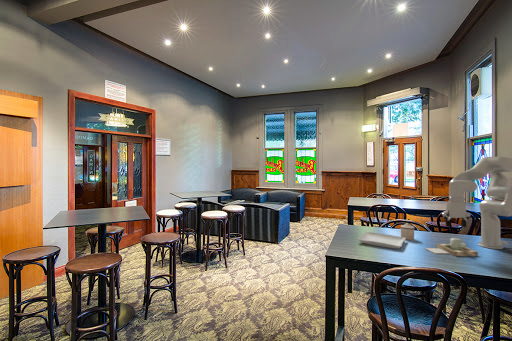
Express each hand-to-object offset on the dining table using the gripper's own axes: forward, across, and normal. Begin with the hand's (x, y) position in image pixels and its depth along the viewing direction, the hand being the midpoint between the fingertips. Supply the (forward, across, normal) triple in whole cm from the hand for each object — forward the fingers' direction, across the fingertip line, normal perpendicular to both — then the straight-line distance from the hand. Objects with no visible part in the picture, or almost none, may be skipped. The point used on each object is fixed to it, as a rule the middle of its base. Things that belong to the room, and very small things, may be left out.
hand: (455, 226), depth 162 cm
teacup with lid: (+16, +13, -31) cm, 38 cm away
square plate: (+17, +37, -19) cm, 45 cm away
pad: (+16, +11, 0) cm, 20 cm away
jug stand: (+16, -1, 0) cm, 16 cm away
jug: (+16, -1, +2) cm, 16 cm away
